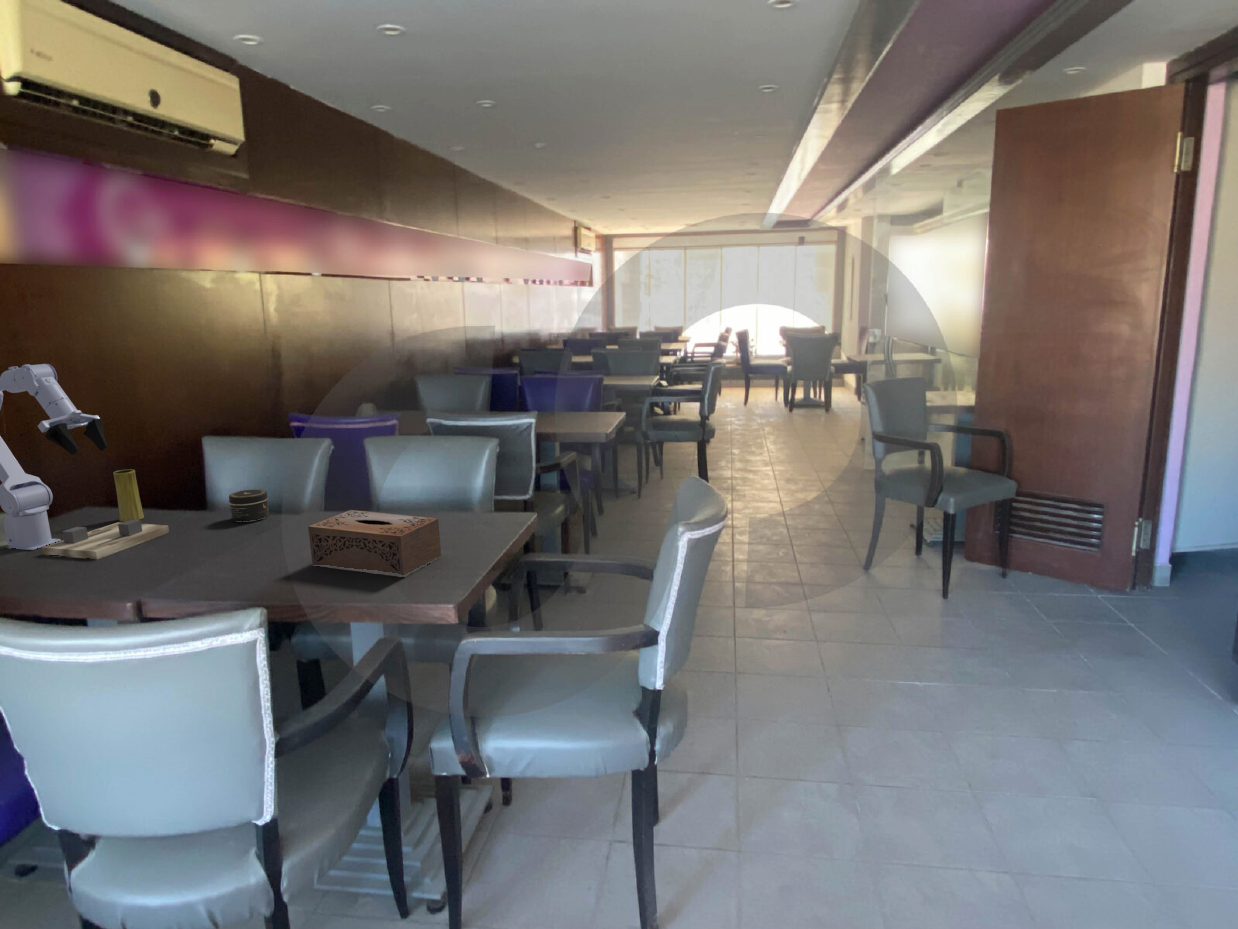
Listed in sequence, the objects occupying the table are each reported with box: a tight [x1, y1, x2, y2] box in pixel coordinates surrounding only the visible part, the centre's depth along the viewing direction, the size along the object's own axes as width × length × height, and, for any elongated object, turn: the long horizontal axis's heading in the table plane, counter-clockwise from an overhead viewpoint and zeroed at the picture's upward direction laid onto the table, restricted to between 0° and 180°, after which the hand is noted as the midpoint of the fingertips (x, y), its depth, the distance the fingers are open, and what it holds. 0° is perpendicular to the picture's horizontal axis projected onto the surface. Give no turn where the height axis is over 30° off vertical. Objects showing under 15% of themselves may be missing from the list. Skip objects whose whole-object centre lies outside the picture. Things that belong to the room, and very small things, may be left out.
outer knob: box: [118, 519, 142, 536], centre depth 205 cm, size 3×4×3 cm
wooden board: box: [41, 521, 170, 560], centre depth 204 cm, size 17×22×2 cm
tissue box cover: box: [307, 509, 442, 575], centre depth 184 cm, size 26×14×10 cm, turn 69°
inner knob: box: [61, 526, 88, 543], centre depth 200 cm, size 3×4×3 cm
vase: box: [113, 468, 145, 523], centre depth 225 cm, size 6×6×14 cm
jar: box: [228, 488, 270, 522], centre depth 223 cm, size 10×10×8 cm
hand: (90, 450), depth 189 cm, fingers open, 7 cm apart
